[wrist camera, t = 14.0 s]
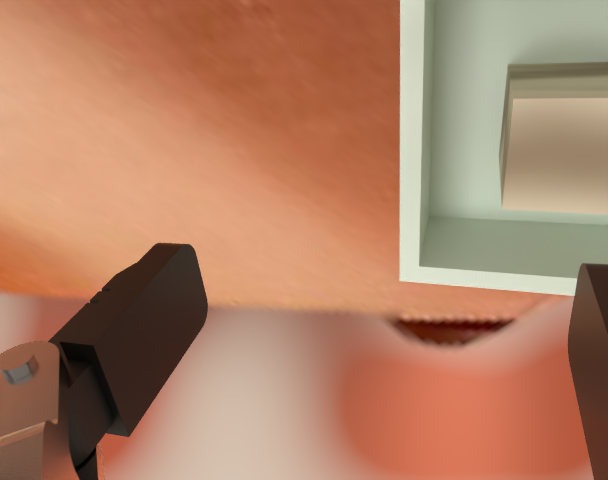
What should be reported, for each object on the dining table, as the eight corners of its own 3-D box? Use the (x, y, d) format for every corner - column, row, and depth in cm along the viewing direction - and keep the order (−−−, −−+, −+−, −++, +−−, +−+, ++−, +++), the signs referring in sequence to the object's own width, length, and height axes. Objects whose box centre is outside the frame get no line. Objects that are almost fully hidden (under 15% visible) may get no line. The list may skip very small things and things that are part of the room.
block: (507, 64, 28) (513, 98, 22) (616, 61, 26) (653, 97, 20) (498, 156, 30) (501, 209, 24) (597, 158, 29) (626, 215, 23)
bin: (418, -38, 27) (400, -31, 22) (771, -68, 23) (864, -68, 17) (413, 224, 34) (399, 280, 29) (684, 238, 30) (729, 309, 24)
